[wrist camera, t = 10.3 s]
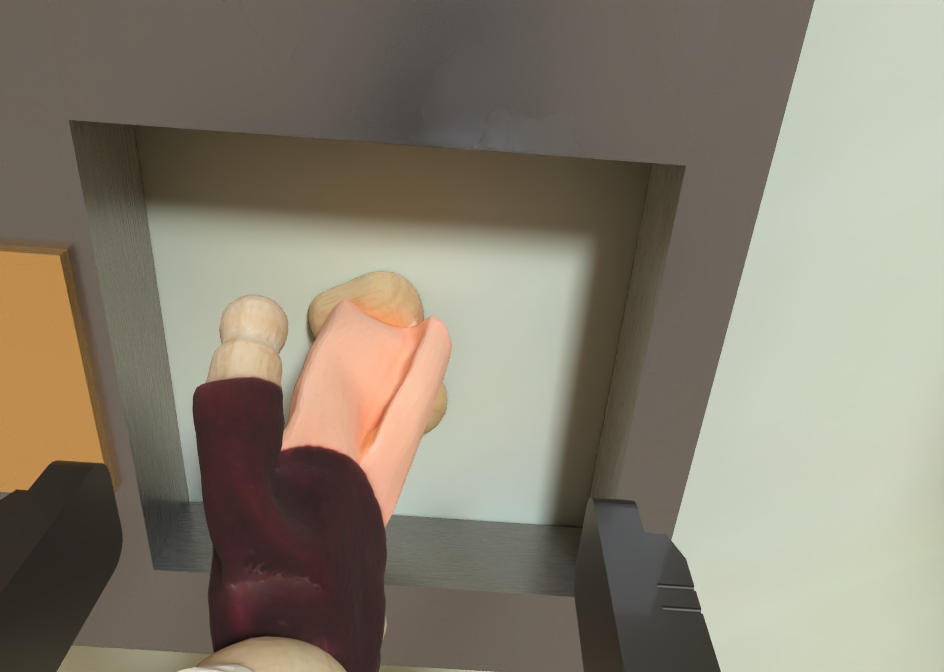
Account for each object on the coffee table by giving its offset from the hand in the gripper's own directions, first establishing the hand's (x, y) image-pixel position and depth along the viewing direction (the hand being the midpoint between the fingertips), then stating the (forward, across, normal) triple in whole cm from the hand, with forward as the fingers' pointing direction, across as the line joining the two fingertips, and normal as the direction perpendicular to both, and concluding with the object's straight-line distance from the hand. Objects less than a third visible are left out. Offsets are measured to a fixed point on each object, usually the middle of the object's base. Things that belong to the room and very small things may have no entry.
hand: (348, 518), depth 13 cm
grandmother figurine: (+6, 0, 0) cm, 6 cm away
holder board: (+6, +1, 0) cm, 6 cm away
